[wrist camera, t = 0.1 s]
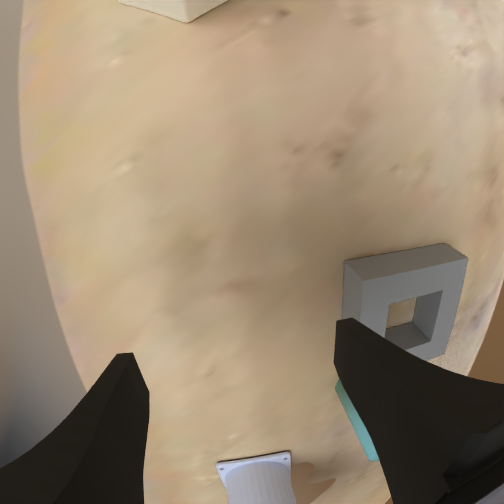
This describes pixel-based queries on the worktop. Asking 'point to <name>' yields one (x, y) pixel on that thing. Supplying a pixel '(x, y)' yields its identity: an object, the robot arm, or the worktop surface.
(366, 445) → the peg
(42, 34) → the worktop surface
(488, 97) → the worktop surface
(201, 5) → the jar
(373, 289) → the socket block
